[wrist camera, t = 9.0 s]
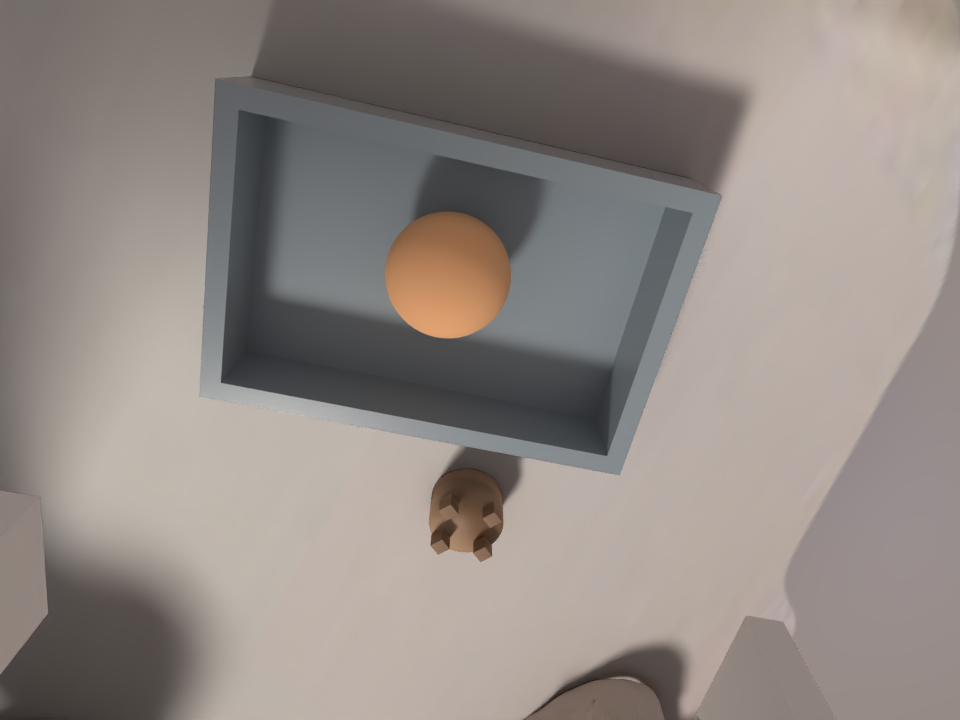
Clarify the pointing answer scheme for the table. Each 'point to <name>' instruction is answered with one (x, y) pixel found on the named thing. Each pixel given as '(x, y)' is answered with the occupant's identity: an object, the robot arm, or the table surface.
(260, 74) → the table surface
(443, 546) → the tan knobbed round piece
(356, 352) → the tray
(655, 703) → the anatomical model
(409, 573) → the table surface
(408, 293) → the ball
